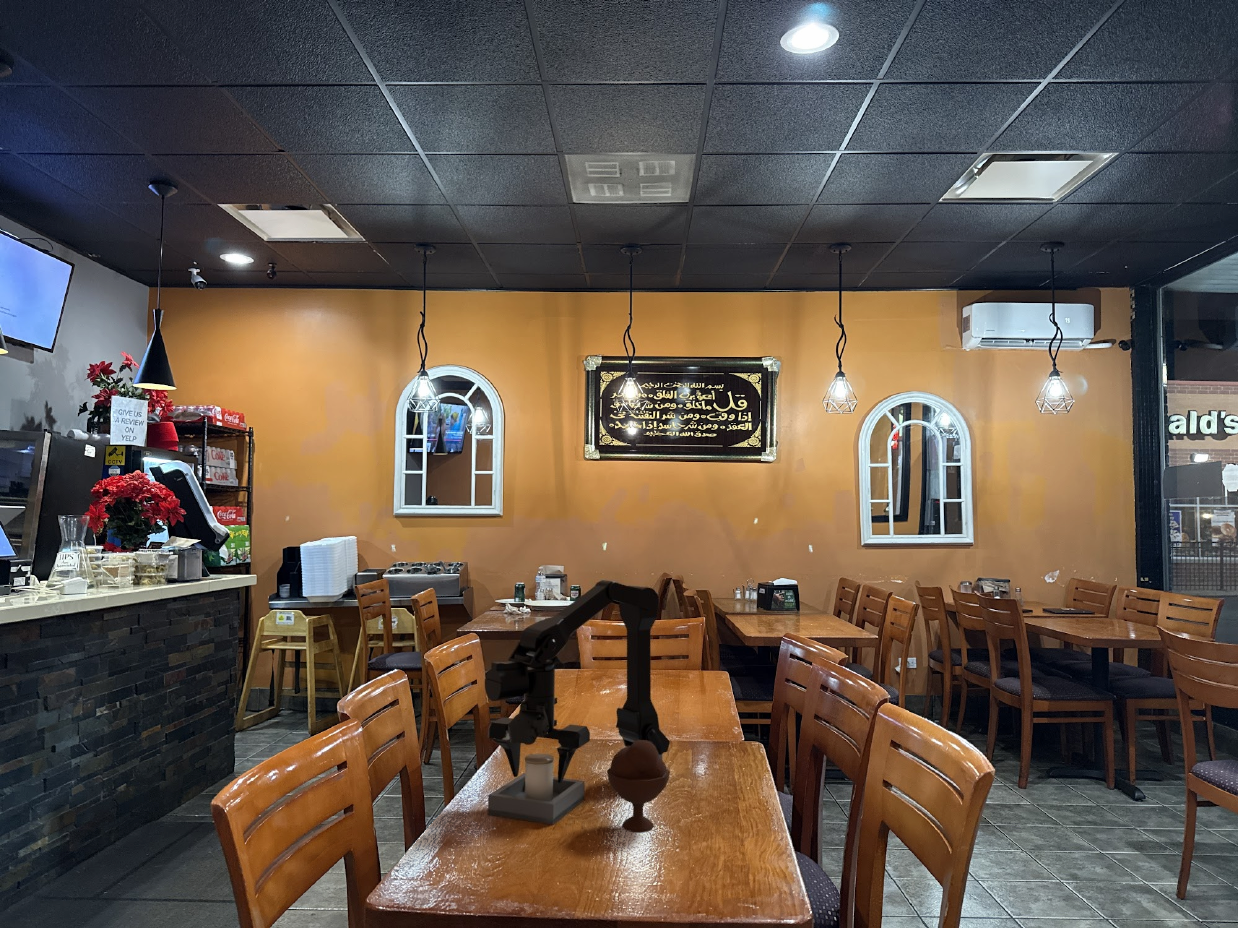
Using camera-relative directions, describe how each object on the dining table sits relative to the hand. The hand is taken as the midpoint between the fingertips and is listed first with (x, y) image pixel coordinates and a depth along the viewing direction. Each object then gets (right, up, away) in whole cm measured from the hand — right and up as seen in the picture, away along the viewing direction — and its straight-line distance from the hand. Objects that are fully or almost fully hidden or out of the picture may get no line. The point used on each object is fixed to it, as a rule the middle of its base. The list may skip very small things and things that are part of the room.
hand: (537, 779), depth 151 cm
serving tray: (0, -5, 0) cm, 5 cm away
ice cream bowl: (+19, -5, -9) cm, 21 cm away
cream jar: (0, -4, 0) cm, 4 cm away
